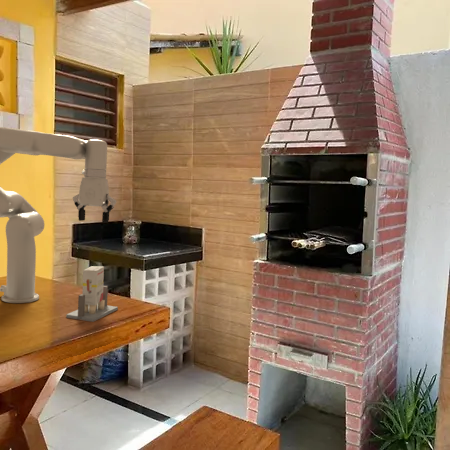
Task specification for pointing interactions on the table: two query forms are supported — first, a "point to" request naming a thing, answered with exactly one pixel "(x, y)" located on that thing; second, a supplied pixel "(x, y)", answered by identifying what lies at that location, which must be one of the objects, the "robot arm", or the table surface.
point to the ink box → (93, 284)
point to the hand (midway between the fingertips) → (93, 221)
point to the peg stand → (92, 308)
